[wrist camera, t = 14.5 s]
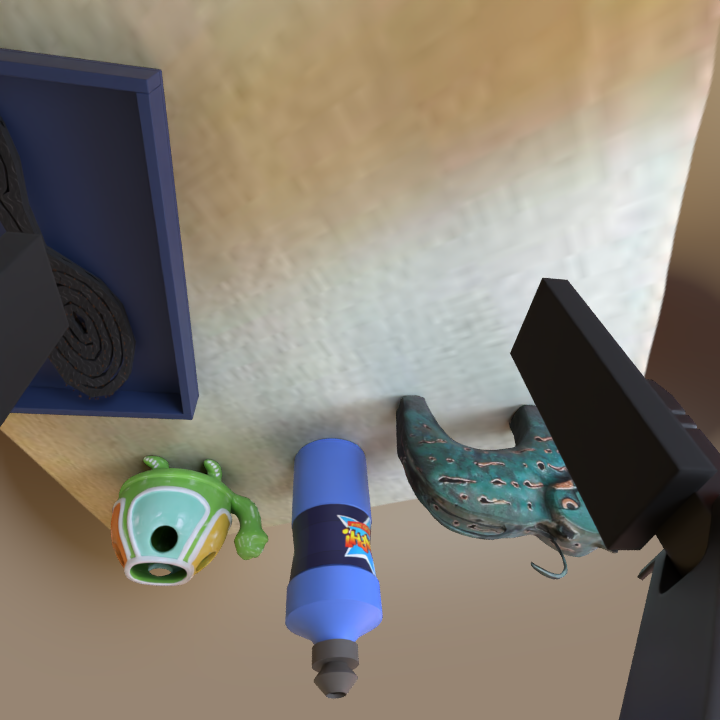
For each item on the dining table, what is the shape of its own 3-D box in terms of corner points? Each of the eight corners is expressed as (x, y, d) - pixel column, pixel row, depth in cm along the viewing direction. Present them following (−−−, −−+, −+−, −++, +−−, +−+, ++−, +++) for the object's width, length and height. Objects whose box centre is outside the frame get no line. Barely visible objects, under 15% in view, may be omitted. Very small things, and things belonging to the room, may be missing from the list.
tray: (-171, 24, 29) (-221, 31, 27) (161, 69, 32) (147, 79, 29) (0, 386, 49) (-19, 412, 46) (199, 395, 51) (192, 420, 48)
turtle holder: (265, 516, 67) (256, 603, 58) (127, 504, 63) (95, 596, 54) (278, 462, 59) (272, 552, 50) (123, 445, 55) (85, 540, 46)
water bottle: (338, 426, 56) (350, 667, 37) (380, 465, 61) (409, 693, 42) (277, 458, 59) (258, 696, 40) (322, 492, 64) (324, 717, 45)
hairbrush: (16, 102, 30) (141, 400, 45) (43, 93, 33) (152, 376, 48) (-120, 109, 29) (51, 406, 45) (-80, 99, 32) (68, 381, 47)
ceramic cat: (561, 400, 56) (654, 566, 40) (538, 437, 60) (614, 600, 44) (399, 383, 52) (433, 558, 37) (385, 423, 56) (411, 596, 41)
